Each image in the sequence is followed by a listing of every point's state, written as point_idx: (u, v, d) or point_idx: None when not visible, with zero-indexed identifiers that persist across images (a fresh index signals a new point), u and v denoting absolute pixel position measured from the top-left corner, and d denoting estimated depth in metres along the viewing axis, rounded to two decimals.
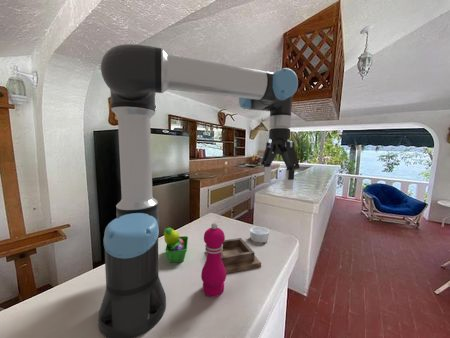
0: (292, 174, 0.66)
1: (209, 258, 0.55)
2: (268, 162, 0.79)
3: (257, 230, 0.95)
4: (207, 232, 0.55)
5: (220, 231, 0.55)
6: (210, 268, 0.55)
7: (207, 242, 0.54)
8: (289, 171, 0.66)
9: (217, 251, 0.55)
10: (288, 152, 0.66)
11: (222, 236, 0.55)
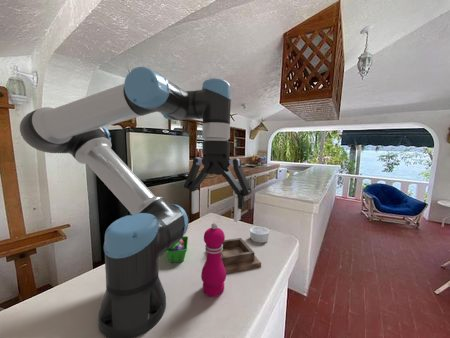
0: (243, 201, 0.52)
1: (209, 258, 0.55)
2: (197, 185, 0.57)
3: (257, 230, 0.95)
4: (207, 232, 0.55)
5: (220, 231, 0.55)
6: (210, 268, 0.55)
7: (207, 242, 0.54)
8: (239, 198, 0.51)
9: (217, 251, 0.55)
10: (238, 174, 0.50)
11: (222, 236, 0.55)
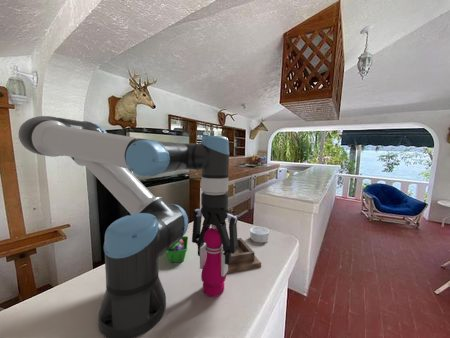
0: (229, 257, 0.55)
1: (209, 258, 0.55)
2: (203, 238, 0.58)
3: (257, 230, 0.95)
4: (207, 232, 0.55)
5: None
6: (210, 268, 0.55)
7: (207, 242, 0.54)
8: None
9: (217, 251, 0.55)
10: (231, 231, 0.52)
11: None
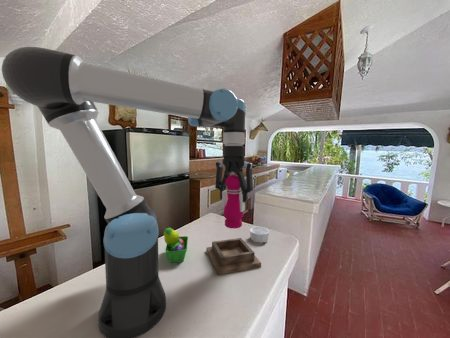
0: (246, 196, 0.68)
1: (230, 198, 0.69)
2: (225, 184, 0.72)
3: (257, 230, 0.95)
4: (228, 177, 0.69)
5: None
6: (231, 205, 0.69)
7: (228, 184, 0.68)
8: (243, 194, 0.68)
9: (236, 192, 0.68)
10: (247, 175, 0.66)
11: None
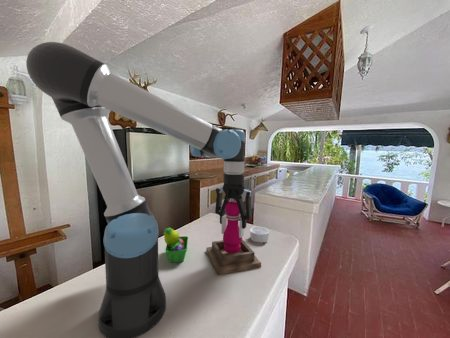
0: (245, 223, 0.71)
1: (229, 224, 0.72)
2: (224, 210, 0.74)
3: (257, 230, 0.95)
4: (228, 204, 0.71)
5: None
6: (230, 231, 0.71)
7: (228, 211, 0.70)
8: None
9: (236, 218, 0.71)
10: (247, 202, 0.69)
11: None
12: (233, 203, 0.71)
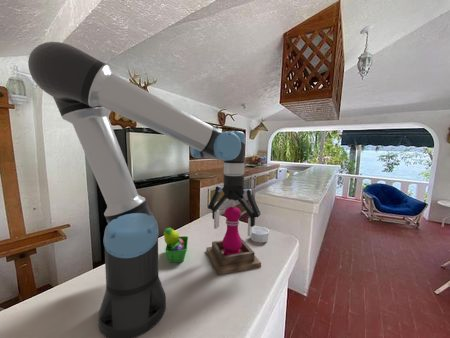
0: (254, 221, 0.69)
1: (229, 229, 0.72)
2: (218, 207, 0.75)
3: (257, 230, 0.95)
4: (227, 209, 0.72)
5: (237, 209, 0.72)
6: (230, 237, 0.71)
7: (228, 216, 0.71)
8: (251, 218, 0.69)
9: (235, 224, 0.71)
10: (250, 201, 0.68)
11: (239, 212, 0.71)
12: (233, 208, 0.71)
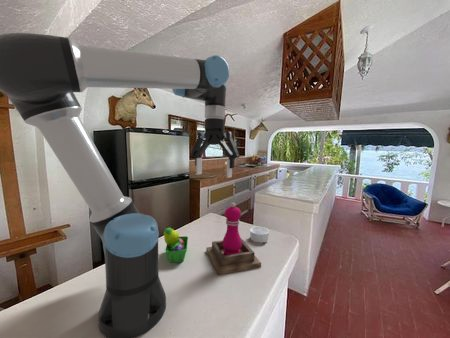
0: (233, 163, 0.71)
1: (229, 229, 0.72)
2: (200, 153, 0.77)
3: (257, 230, 0.95)
4: (228, 209, 0.72)
5: (238, 208, 0.72)
6: (230, 237, 0.71)
7: (228, 216, 0.71)
8: (230, 160, 0.70)
9: (235, 224, 0.71)
10: (229, 142, 0.70)
11: (239, 212, 0.71)
12: (233, 208, 0.71)
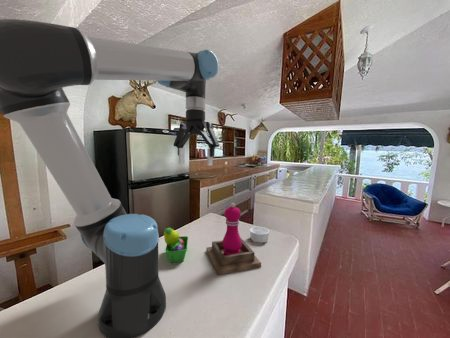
0: (213, 152, 0.75)
1: (229, 229, 0.72)
2: (182, 143, 0.80)
3: (257, 230, 0.95)
4: (227, 209, 0.71)
5: (237, 209, 0.72)
6: (230, 237, 0.71)
7: (228, 217, 0.70)
8: (211, 149, 0.74)
9: (235, 224, 0.71)
10: (209, 132, 0.73)
11: (239, 212, 0.71)
12: (232, 209, 0.71)
